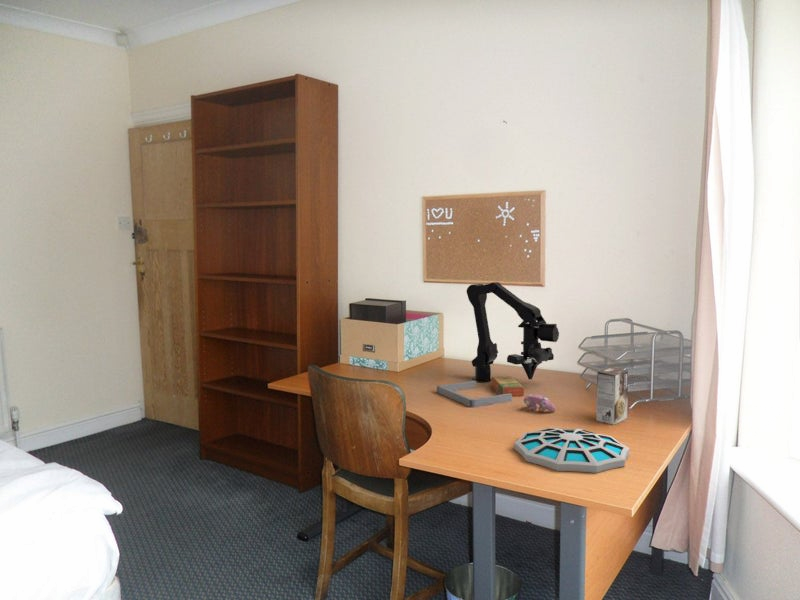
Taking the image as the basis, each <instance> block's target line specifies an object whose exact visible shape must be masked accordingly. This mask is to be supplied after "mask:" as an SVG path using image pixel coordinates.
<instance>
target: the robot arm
mask: <svg viewBox="0 0 800 600" xmlns="http://www.w3.org/2000/svg"><path fill="white" fill-rule="evenodd" d="M492 293H493V295H495V297H497V298H499V299H500V300H501V301H503V302H504V303H505V304H507V305H508V306H509V307H511V308H512V309H513V310H514V311H515V312H516V313H517V316H518V317H519V318H520V319H521V320H522V321H521V323H520V324H518V325H517V327H518V328H522V329H523V333H522V334H523V337H522V341H520V344H521V345H522V351H520V354H517V353H516V354H515V353H513V354H508V355H507V357H506V363H509V364H513V365H517V366H518V365H521V366H522V367H523V370H524V372H525V374H526V376H527V378H528V380H533V377H534V375H535V371H536V370H537V367H538V366H539V365H540V364H543V362H548V361H553V360H554V357H555V355H554V353H553V349H552V347H550V346H549V347H545V348H543V347H542V344H541V342H551V343H556V342H558V340H559V337H560V332H559V328H558V326H557V323H547V321H546V320H545V318H544V317H543V316H542V314H541V313H542V312H541V311H542V310H541V309H540V308H539V307H537V306H535V305H533V304H531V303H528V302H526V301H524V300H522V299H521V298H519V297H518V296H517V295H515V294H514V293H513V292H511V291H510V290H509V289H507V288H506V287H505V286H503V285H502V284H501V283H500V282H498V281H493V282H490V283H486V284H484V283H474V284H470V285H468V287H467V288H466V295H467V298H468V301H469V303H470V304H471V305H472V307H473V308H472V309H473V313H474V314H473V315H474V319H475V325H476V332H477V336H478V344H477V348H476V356H475V357H474V358H473V359H472V360H471V365H472V367H474V368H475V369H474V375H475V377H471V380H472V381H476V382H479V383H484V382H491V378H492V377H491V376H492V375H491V374H492V373H491V372H492V371H491V365H493V364H494V362H495V360H496V359H497V358H498V353H499V351H498V344H497V342H496V343H495V342H493V341H492V339H491V333H490V328H489V321H488V316H487V309H486V308H487V307H486V303H487V299H488V294H492ZM539 340H540V341H541V342H540V341H539Z"/></svg>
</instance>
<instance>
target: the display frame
mask: <svg viewBox="0 0 800 600" xmlns="http://www.w3.org/2000/svg"><path fill="white" fill-rule="evenodd" d="M473 387H476V388H477V381H476V380H470V381H462V382H454V383H449V384H448V383H447V384H441V385H437V386H436V393H437V392H438V394H440V395H442V396H444V395H445V396H444V397H446V396H447V398H449V399H451V400H453V399H454V400H453V401H455V402H458V403H460V402H461V403H460V404H462V403H463V405H465V406H467V407H469V406H470V408H477V407H484V406H488V405H489V406H491V405H495V404H502V403H508V402H512V401H513V397H512V394H510V393H509V394H503V395H500V394H497V395H491V396H483V397H479V398H471V397H468V396H466V395H463V394H461V393H459V392H456V391H460V389H463V390H467V389H466V388H469V389H474V388H473ZM454 390H456V391H454Z"/></svg>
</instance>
